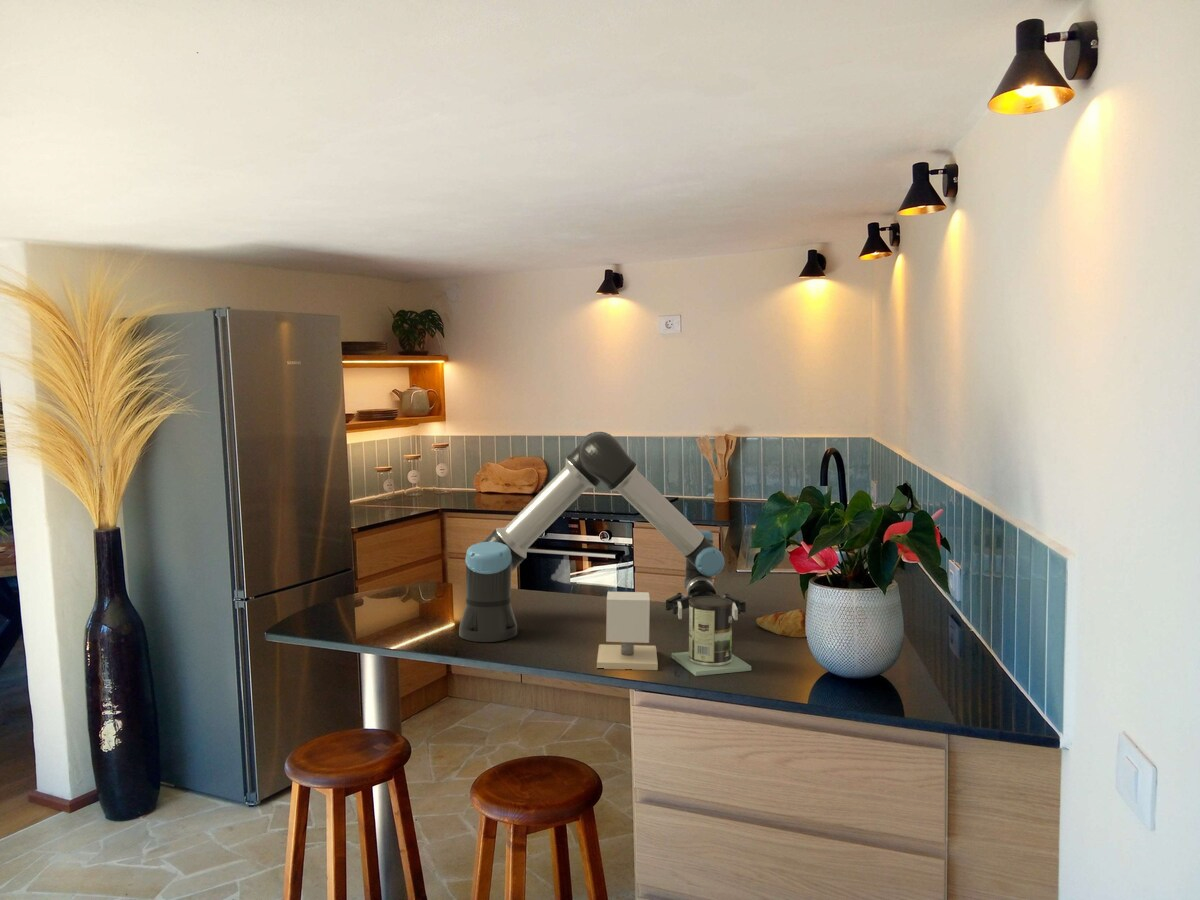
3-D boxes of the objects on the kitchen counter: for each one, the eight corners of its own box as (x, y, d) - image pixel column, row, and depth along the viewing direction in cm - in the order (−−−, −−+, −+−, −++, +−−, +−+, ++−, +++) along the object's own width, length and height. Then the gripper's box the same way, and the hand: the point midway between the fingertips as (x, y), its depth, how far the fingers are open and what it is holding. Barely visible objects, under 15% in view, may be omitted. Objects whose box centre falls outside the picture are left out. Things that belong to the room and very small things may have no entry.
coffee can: (728, 653, 201) (729, 595, 200) (734, 666, 190) (735, 606, 189) (685, 652, 201) (686, 595, 200) (689, 666, 190) (690, 605, 190)
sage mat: (695, 676, 187) (695, 671, 187) (671, 657, 200) (671, 653, 200) (751, 670, 191) (751, 666, 191) (724, 652, 204) (724, 648, 204)
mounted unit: (596, 668, 191) (597, 602, 190) (599, 650, 205) (599, 588, 204) (657, 670, 190) (658, 603, 189) (655, 651, 204) (656, 589, 203)
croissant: (752, 641, 226) (747, 619, 222) (763, 617, 233) (759, 595, 230) (829, 653, 215) (825, 630, 211) (839, 627, 222) (835, 604, 219)
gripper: (747, 608, 224) (759, 630, 202) (655, 606, 225) (656, 628, 203) (748, 581, 223) (759, 600, 202) (655, 578, 224) (657, 597, 203)
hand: (708, 614), depth 203 cm, fingers open, 13 cm apart
